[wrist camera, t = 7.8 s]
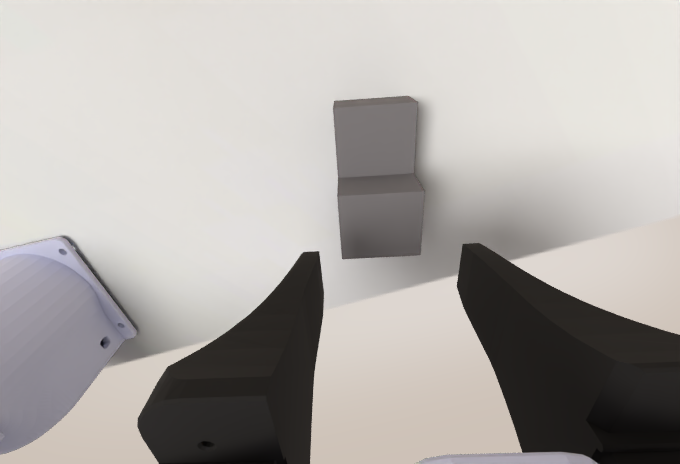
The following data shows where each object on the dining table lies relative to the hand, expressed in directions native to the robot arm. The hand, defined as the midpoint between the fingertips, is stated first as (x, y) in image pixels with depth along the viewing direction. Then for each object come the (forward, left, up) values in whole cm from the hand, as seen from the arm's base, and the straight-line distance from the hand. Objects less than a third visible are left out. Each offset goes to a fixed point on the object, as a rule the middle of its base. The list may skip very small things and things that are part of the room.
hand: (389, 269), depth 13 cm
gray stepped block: (+2, 0, -8) cm, 9 cm away
